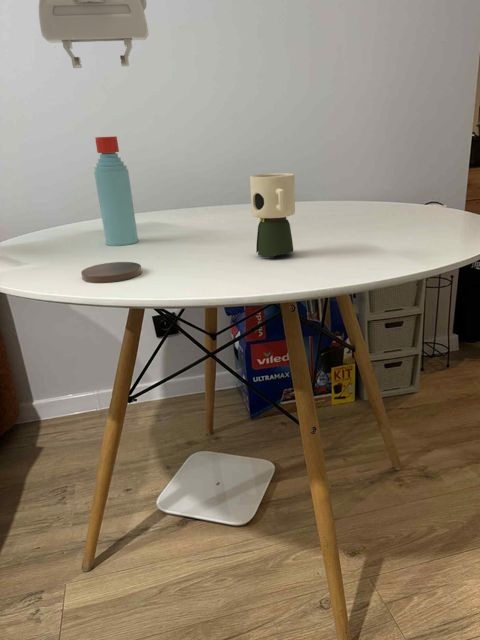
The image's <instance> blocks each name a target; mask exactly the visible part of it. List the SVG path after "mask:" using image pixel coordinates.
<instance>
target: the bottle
mask: <svg viewBox="0 0 480 640" xmlns="http://www.w3.org/2000/svg"><path fill="white" fill-rule="evenodd" d="M93 173H94V180H95V185H96V191H97V197H98V204H99V209H100V214H101V220H102V227H103V233H104V238H105V243H106V246H112V247H118V246H119V247H120V246H129V245H134V244H137V243H138V242H139V236H138V230H137V229H138V228H137V223H136V216H135V207H134V202H133V201H134V200H133V194H132V187H131V182H130V181H131V180H130V174H129V169H128V168H127V165H125V161H122V158H121V157H120V156H119V153H118V152H112V153H99V158H97V162H96V166H95V167H94V171H93Z"/></svg>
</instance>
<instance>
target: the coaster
mask: <svg viewBox="0 0 480 640" xmlns="http://www.w3.org/2000/svg"><path fill="white" fill-rule="evenodd" d="M142 272H143V269H142V265H141V264H140V263H137V262H133V261H114V262H106V263H99V264H95V265H91V266H88V267H86V268H83V269H82V270H81V272H80V274H81V279H82V280H83V281H84V282H87V283H94V284H104V283H105V284H106V283H117V282H122V281H126V280H131V279H134V278H137V277H138V276H141V274H143V273H142Z"/></svg>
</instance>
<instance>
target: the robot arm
mask: <svg viewBox="0 0 480 640" xmlns="http://www.w3.org/2000/svg"><path fill="white" fill-rule="evenodd" d="M37 6H38V7H37V8H38V19H39V21H38V22H39V28H40V32H41V36H42V37H43V38H44V40H45V41H46V42H48V43H50V44H55V43H57V44H59V43H60V44H61V43H62V47H63V49H64V50H65V52H66V53H67V55H68V56H69V57H70V60H71V64H72V65H71V66H72V68H73V69H82V68H83V67H82V64H81V62H82V61H81V57H79V56H75V54H74V53H73V51H72V50H71V49H73V43H91V42H95V43H96V42H122V41H123V45H124V46H125V51H124V54H122V55H121V54H119V58H120V65H121V66H122V67H130V61H129V59H130V58H129V56H130V54H131V51H132V48H133V41H146V39H147V38H148V36H149V28H148V23H147V17H146V14H145V10H146V8H147V0H38V5H37Z"/></svg>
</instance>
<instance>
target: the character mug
mask: <svg viewBox="0 0 480 640" xmlns="http://www.w3.org/2000/svg"><path fill="white" fill-rule="evenodd" d="M249 182H250V183H249V184H250V203H251V213H252V214H251V215H252V217H254V218H259V223H258V225H257V233H256V250H255V253H256V254H257V255H258V256H260V257H275V258H277V257H278V258H279V257H280V256H281V255H285V254H291V253H293V252H294V243H293V237H292V236H293V235H292V229H291V223H290V221H289V220H288V219H287V218H288V217H291V216H293V215H295V213H296V193H295V191H296V190H295V188H296V187H295V174H294V173H288V172H287V173H286V172H285V173H283V172H282V173H281V172H280V173H278V172H277V173H262V174H255V175H250V176H249Z"/></svg>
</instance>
